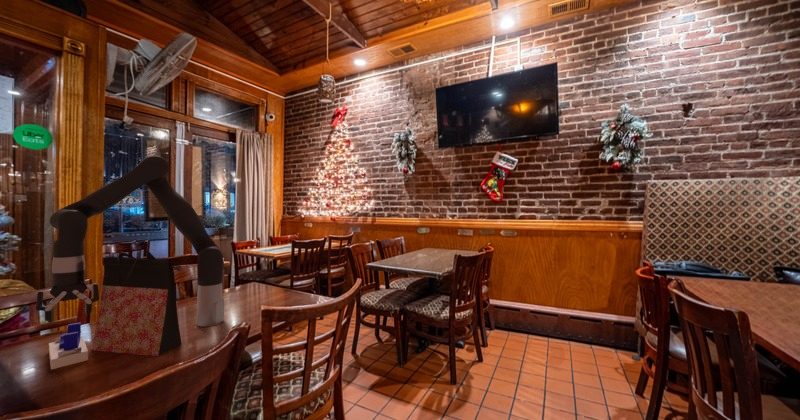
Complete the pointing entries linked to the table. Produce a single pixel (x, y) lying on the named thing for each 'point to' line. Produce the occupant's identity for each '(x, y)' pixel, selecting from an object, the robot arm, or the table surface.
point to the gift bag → (137, 306)
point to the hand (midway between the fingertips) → (69, 318)
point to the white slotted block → (66, 354)
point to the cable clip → (71, 337)
